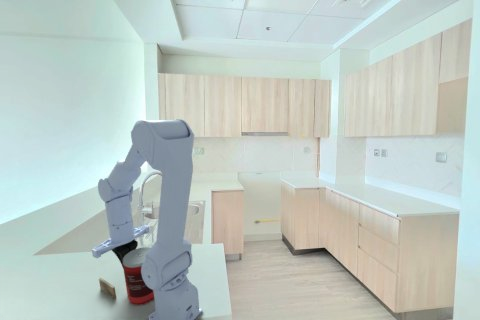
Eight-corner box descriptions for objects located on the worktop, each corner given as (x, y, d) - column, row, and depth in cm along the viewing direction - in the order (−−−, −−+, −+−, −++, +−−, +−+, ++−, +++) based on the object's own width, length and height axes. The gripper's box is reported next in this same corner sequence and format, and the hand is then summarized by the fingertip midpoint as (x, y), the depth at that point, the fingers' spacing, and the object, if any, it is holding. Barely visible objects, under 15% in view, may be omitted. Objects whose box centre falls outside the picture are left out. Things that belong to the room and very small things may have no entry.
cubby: (148, 275, 65) (147, 266, 65) (114, 298, 57) (112, 288, 56) (134, 268, 69) (133, 259, 68) (100, 288, 61) (98, 278, 60)
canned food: (150, 279, 63) (146, 243, 62) (165, 292, 58) (161, 253, 56) (122, 295, 58) (116, 256, 56) (136, 311, 53) (130, 269, 51)
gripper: (137, 209, 67) (142, 250, 69) (82, 229, 55) (91, 279, 57) (151, 213, 63) (156, 257, 65) (96, 236, 51) (105, 288, 53)
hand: (127, 268), depth 61 cm, fingers closed
